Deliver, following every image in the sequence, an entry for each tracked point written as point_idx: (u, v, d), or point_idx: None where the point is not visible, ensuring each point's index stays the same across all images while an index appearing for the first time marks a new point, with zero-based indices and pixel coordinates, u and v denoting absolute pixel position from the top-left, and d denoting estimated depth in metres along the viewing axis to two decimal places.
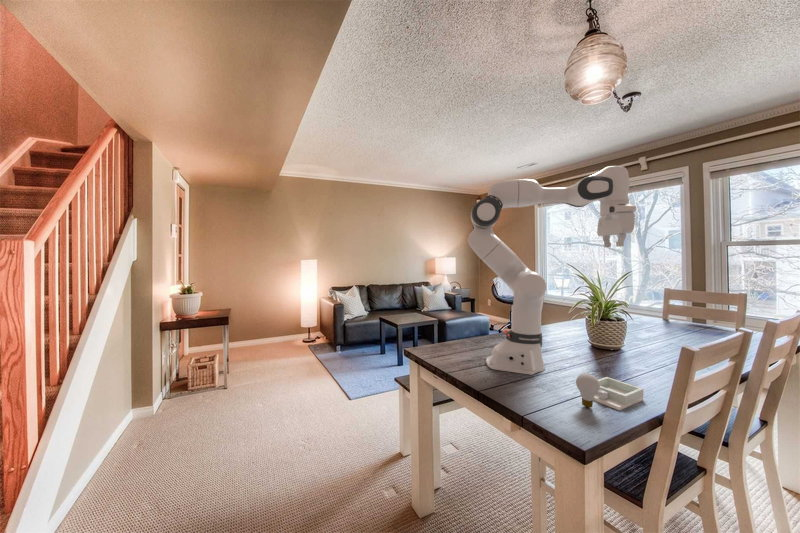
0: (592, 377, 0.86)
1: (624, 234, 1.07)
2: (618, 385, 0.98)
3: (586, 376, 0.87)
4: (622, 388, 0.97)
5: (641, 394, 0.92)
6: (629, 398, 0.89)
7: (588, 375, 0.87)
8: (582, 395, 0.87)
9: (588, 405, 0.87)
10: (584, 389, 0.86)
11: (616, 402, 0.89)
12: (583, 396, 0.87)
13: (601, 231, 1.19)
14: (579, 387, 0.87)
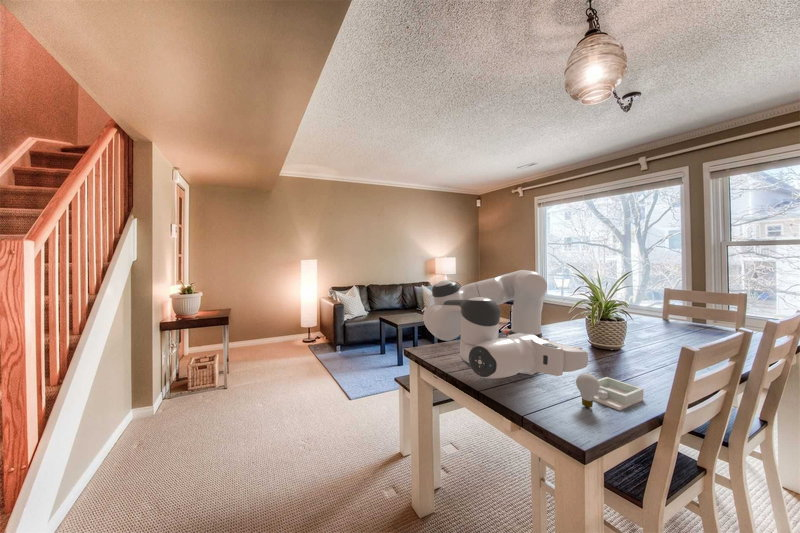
0: (592, 377, 0.86)
1: None
2: (618, 385, 0.98)
3: (586, 376, 0.87)
4: (622, 388, 0.97)
5: (641, 394, 0.92)
6: (629, 398, 0.89)
7: (588, 375, 0.87)
8: (582, 395, 0.87)
9: (588, 405, 0.87)
10: (584, 389, 0.86)
11: (616, 402, 0.89)
12: (583, 396, 0.87)
13: None
14: (579, 387, 0.87)
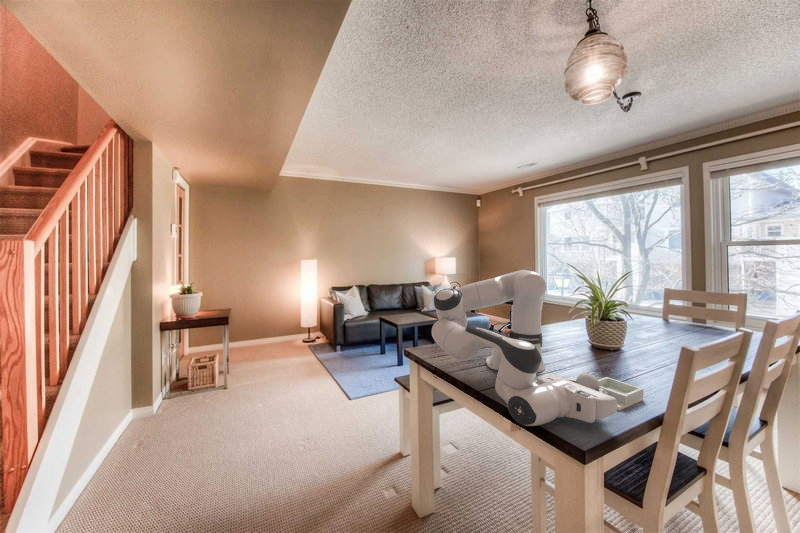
0: (592, 377, 0.86)
1: None
2: (618, 385, 0.98)
3: (586, 376, 0.87)
4: (622, 388, 0.97)
5: (641, 394, 0.92)
6: (629, 398, 0.89)
7: (588, 375, 0.87)
8: None
9: None
10: None
11: None
12: None
13: None
14: None
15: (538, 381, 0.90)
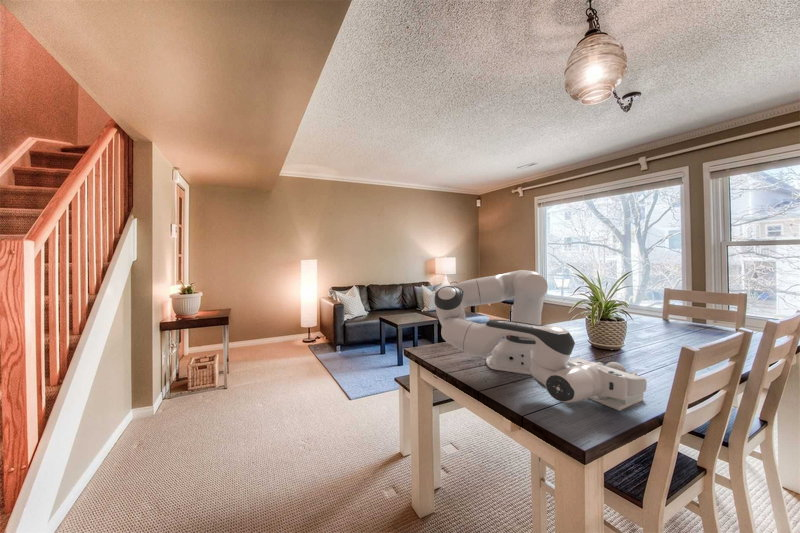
0: (619, 365, 0.93)
1: None
2: None
3: (614, 364, 0.93)
4: None
5: (641, 394, 0.92)
6: (629, 398, 0.89)
7: (615, 363, 0.94)
8: None
9: None
10: None
11: (616, 402, 0.89)
12: None
13: None
14: None
15: (569, 365, 0.97)
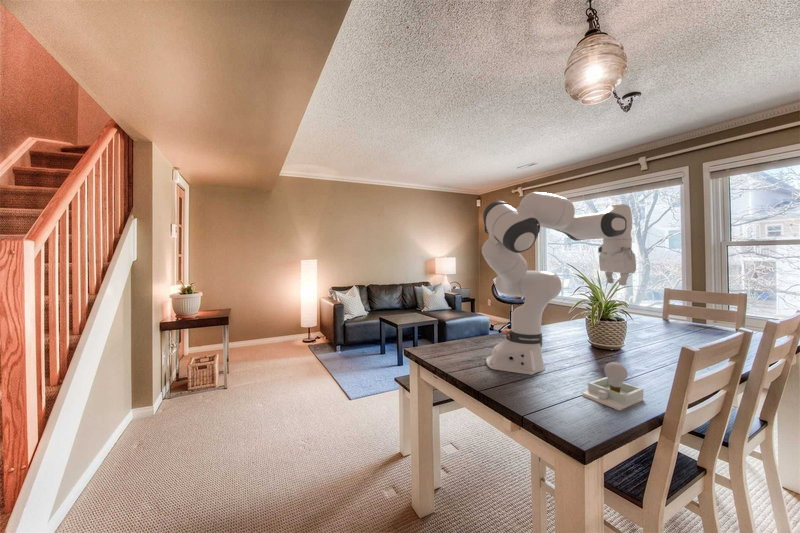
0: (620, 365, 0.93)
1: None
2: None
3: (615, 364, 0.94)
4: (622, 388, 0.97)
5: (641, 394, 0.92)
6: (629, 398, 0.89)
7: (616, 363, 0.94)
8: (610, 382, 0.94)
9: (616, 391, 0.94)
10: (613, 376, 0.93)
11: (616, 402, 0.89)
12: (611, 383, 0.94)
13: None
14: (608, 374, 0.94)
15: (625, 252, 1.06)
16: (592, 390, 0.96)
